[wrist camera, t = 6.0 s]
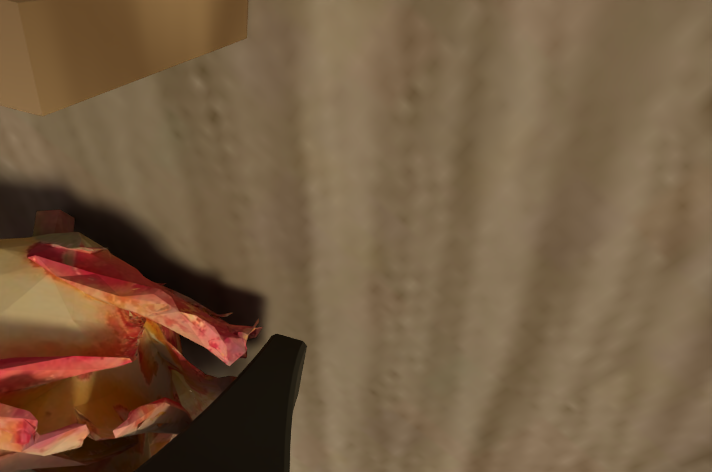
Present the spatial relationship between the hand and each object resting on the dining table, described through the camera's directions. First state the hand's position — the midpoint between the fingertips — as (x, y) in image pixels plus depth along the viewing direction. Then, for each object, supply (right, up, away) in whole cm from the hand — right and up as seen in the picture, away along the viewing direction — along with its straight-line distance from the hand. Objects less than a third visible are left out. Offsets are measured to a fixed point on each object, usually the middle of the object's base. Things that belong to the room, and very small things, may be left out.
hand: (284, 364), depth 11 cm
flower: (-4, +2, +2) cm, 5 cm away
